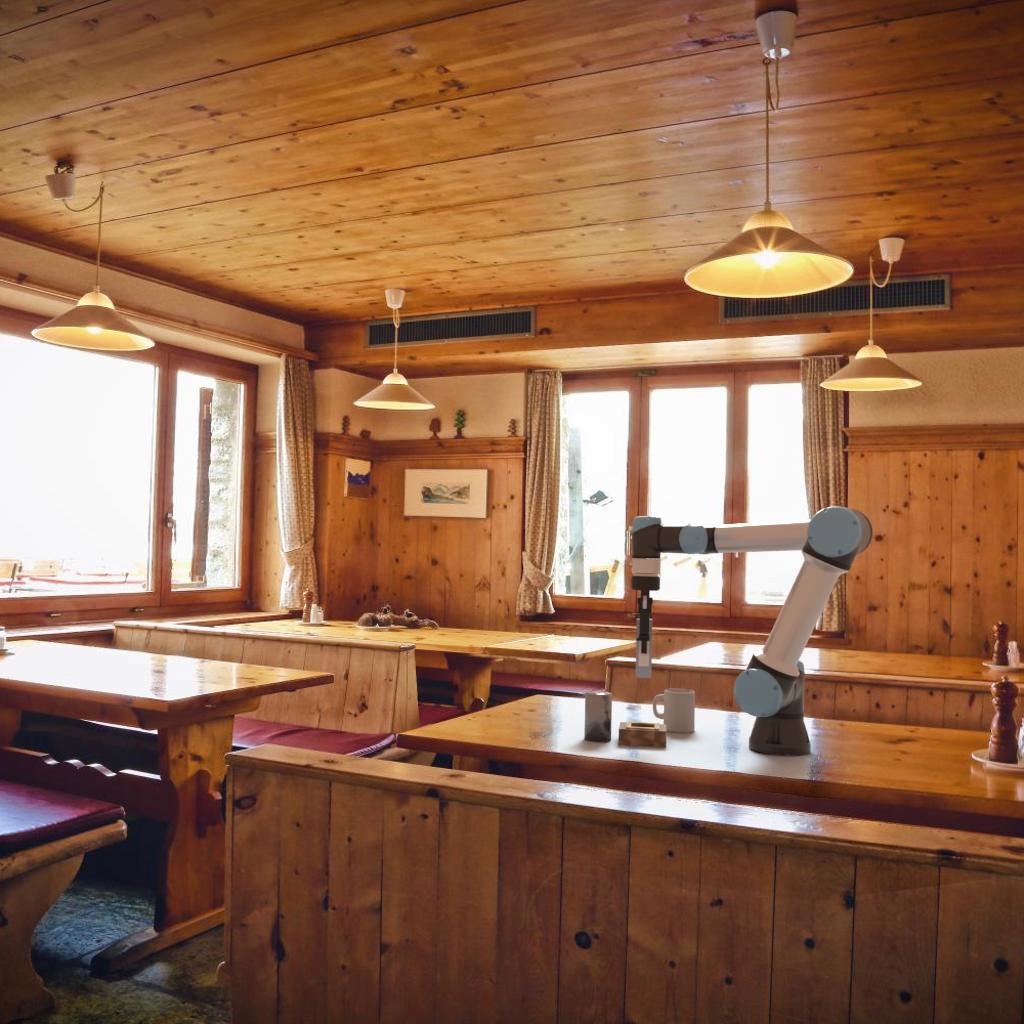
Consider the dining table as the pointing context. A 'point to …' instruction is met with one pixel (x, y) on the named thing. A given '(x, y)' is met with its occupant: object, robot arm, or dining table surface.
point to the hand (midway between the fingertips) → (643, 664)
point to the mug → (677, 710)
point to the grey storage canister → (598, 716)
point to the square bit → (640, 670)
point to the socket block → (642, 734)
